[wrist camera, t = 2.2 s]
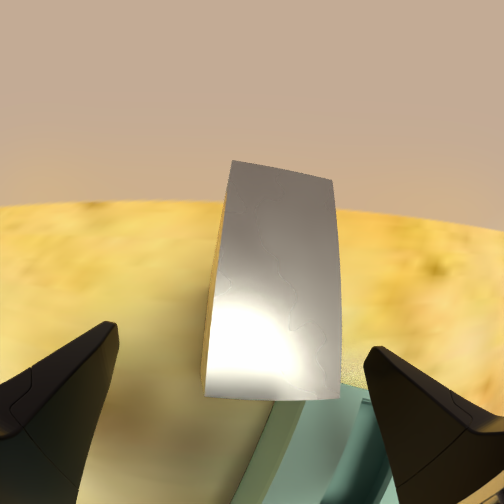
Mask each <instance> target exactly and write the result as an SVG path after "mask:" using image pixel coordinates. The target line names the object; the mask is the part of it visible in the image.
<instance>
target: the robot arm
mask: <svg viewBox="0 0 504 504" xmlns="http://www.w3.org/2000/svg"><path fill="white" fill-rule="evenodd" d="M118 350H119V335H118V326H117V324H116V323H114V322H109V321H104V322H102V323H100V324H99V325H97V326H95V327H94V328H92V329H91V330H89V331H87V332H86V333H84V334H82V335H81V336H79V337H78V338H76V339H74V340H73V341H71V342H69V343H68V344H66V345H65V346H63V347H61V348H60V349H58V350H57V351H55V352H53V353H52V354H50V355H49V356H47V357H45V358H44V359H42V360H41V361H39V362H37V363H36V364H34V365H33V366H32V367H29V368H28V369H26V370H25V371H23V372H21V373H20V374H18V375H16V376H15V377H13V378H11V379H9V380H8V381H6V382H4V383H2V384H0V504H76V500H77V496H78V491H79V490H78V489H79V486H80V482H81V478H82V474H83V470H84V466H85V463H86V459H87V455H88V452H89V448H90V445H91V442H92V438H93V435H94V432H95V428H96V425H97V422H98V419H99V416H100V413H101V410H102V407H103V404H104V401H105V398H106V395H107V393H108V390H109V387H110V383H111V379H112V374H113V370H114V366H115V362H116V358H117V354H118ZM363 368H364V373H365V377H366V381H367V386H368V391H369V395H370V400H371V403H372V407H373V410H374V413H375V416H376V419H377V423H378V426H379V429H380V433H381V436H382V439H383V443H384V446H385V450H386V453H387V457H388V461H389V464H390V468H391V472H392V476H393V480H394V484H395V488H396V493H397V497H398V501H399V504H504V417H502V416H497V415H494V414H492V413H490V412H488V411H486V410H484V409H482V408H481V407H479V406H477V405H475V404H473V403H471V402H470V401H468V400H466V399H464V398H463V397H461V396H459V395H458V394H456V393H455V392H453V391H452V390H449V389H448V388H447V387H445V386H444V385H442V384H441V383H439V382H437V381H436V380H434V379H433V378H431V377H430V376H428V375H427V374H425V373H423V372H422V371H420V370H419V369H417V368H416V367H414V366H413V365H411V364H410V363H408V362H406V361H405V360H403V359H402V358H400V357H399V356H397V355H396V354H394V353H393V352H391V351H390V350H388V349H386V348H385V347H383V346H374V347H372V348H371V350H370V352H369V354H368V356H367V358H366V359H365V361H364V365H363Z"/></svg>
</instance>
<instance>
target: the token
mask: <svg viewBox="0 0 504 504" xmlns="http://www.w3.org/2000/svg"><path fill="white" fill-rule="evenodd" d="M341 355H342V308H341V277H340V258H339V243H338V231H337V219H336V209H335V200H334V191H333V183H332V180H329V179H325V178H321V177H316V176H312V175H307V174H303V173H298V172H294V171H289V170H283V169H278V168H274V167H269V166H263V165H257V164H252V163H246V162H240V161H234V160H233V161H232V164H231V169H230V174H229V179H228V184H227V189H226V194H225V200H224V205H223V210H222V216H221V221H220V227H219V232H218V238H217V244H216V249H215V255H214V261H213V267H212V273H211V279H210V286H209V294H208V302H207V311H206V320H205V329H204V339H203V349H202V359H201V370H200V377H201V382H202V387H203V391H204V396H205V397H215V398H226V399H241V400H266V401H301V400H326V399H340V384H341Z"/></svg>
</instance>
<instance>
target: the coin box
mask: <svg viewBox="0 0 504 504" xmlns="http://www.w3.org/2000/svg"><path fill="white" fill-rule="evenodd" d="M230 504H399V501H398V497H397V493H396V488H395V484H394V480H393V476H392V472H391V468H390V464H389V461H388V457H387V453H386V450H385V446H384V443H383V439H382V436H381V433H380V429H379V426H378V423H377V419H376V416H375V413H374V410H373V407H372V403H371V400H370V395H369V391H368V390H365V389H361V388H358V387H354V386H350V385H347V384H343V383H341V384H340V399H326V400H301V401H275V403H274V405H273V408H272V410H271V413H270V415H269V418H268V420H267V423H266V425H265V428H264V430H263V432H262V435H261V437H260V440H259V442H258V444H257V447H256V449H255V451H254V454H253V456H252V458H251V460H250V463H249V465H248V467H247V469H246V471H245V474H244V476H243V478H242V480H241V482H240V484H239V486H238V488H237V491H236V493H235V495H234V497H233V499H232V501H231V503H230Z"/></svg>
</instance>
